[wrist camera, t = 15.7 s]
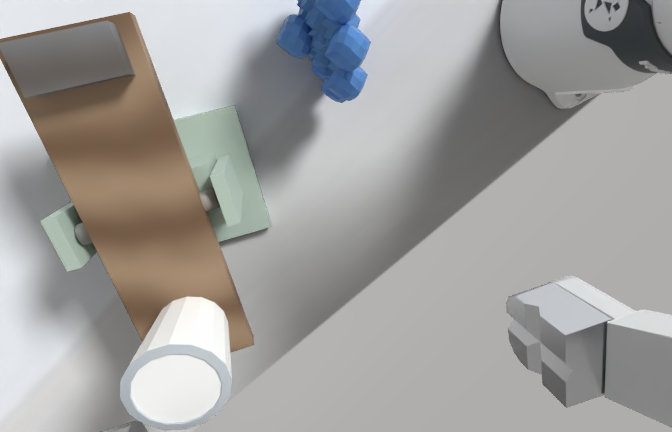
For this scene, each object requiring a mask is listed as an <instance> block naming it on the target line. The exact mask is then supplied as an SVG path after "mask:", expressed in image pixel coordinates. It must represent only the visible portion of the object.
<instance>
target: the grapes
mask: <svg viewBox="0 0 672 432" xmlns="http://www.w3.org/2000/svg"><path fill="white" fill-rule="evenodd" d="M298 1H299V2H298V4H297V5H298V6H299V7H300V10H299V13H298V15H296V14H293V15H290V16H289V17H288V18H287V19H286V20H285V21H284V23H283V26H282V28H281V30H280V33H279V36H278V39H277V44H278V45H279V46H280V47H281V48H282V49H284V50H285V51H286V52H288V53H289V54H290V55H292V56H294V57H296V58H300V59H301V58H304V57H306V56H307V55H308V56H309V57H310V58H311V59H312V61H311V63H312V64H313V66H312V69H311V70H312V71H313V72H314V73H315V74H316V75H317V76H318V77H320V78H321V79H322V80H324V82H323V85H322V88H321V91H322V92H323V93H325V94H326V95H327V96H328V97H330V98H331V99H332V100H334V101H336V102H340V103H342V102H344V101H346V100H348V101H350V100H352V99H354V98H356V97H357V96H358V95H359V93H360V92H361V90H362V88H363V86H364V83H365V80H366V78H367V75H368V74H367V73H366V72H365V71H364V70H363V69H362V68H360V65H361V64H362V62H363V60H364V59H365V56H366V54H367V51H368V48H369V45H370V43H371V42H370V41H369V39H368V38H367V37H366V36H365V35H364V34H363V33H362V32H361V31H360V30H359V29H357V28H358V25H359V22H360V18H359V17H358V16H357V15H356V11H357V9H358V6H359V4H360V1H361V0H298Z"/></svg>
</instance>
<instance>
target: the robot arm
mask: <svg viewBox="0 0 672 432" xmlns="http://www.w3.org/2000/svg"><path fill="white" fill-rule="evenodd" d="M500 31H501V39H502V44H503V48H504V51H505V54H506V56H507V59H508V61H509V62H510V64H511V66H512V67H513V69H514V70H515V71H516V73H517V74H518V75H519V76H520V77H521V78H522V79H524V80H525V81H526V82H528V83H530V84H531V85H533V86H535V87H538V88H540V89H541V90H543V91H544V92H545V93H546V94H547V96H548V97H549V99H550V100H551V101H552V103H553V104H554V105H555V106H556V107H557V108H559V109H569V108H573V107H575V106H577V105H579V104H581V103H583V102H585V101H587V100H589V99H591V98H593V97H595V96H597V95H599V94H601V93H606V92H607V93H608V92H624V91H629V90H631V89H632V87H633V86H634V85H636V84H639V83H641V82H643V81H645V80H647V79H648V78H650V77H652V76H653V75H655V74H656V73H665V74H672V0H503V1H502V7H501V15H500ZM575 94H576V95H575ZM506 309H507V313H508V314H509V315H510V316H511V317H513V320H512V322H511V324H510V326H509V328H508V333H509V341H510V343H511V346H512V348H513V351H514V353H515V354H516V356H517V357H518V359H519V360H520V361H521V363H522V364H523V365H524V366H525V367H526V368H527V369H528V370H531V371H534V372H537V373H539V374H542V383H543V385H544V386H545V387H546V388H547V389H548V390H549V391H550V392H551V393H552V394H553V395H554V396H555V397H556V398H557V399H558V400H559V401H560V402H561V403H562V404H563V405H564V406H565V407H566V408H567V407H570V406H573V405H576V404H579V403H582V402H585V401H588V400H591V399H594V398H597V397H600V396H602V395H605V398H608V399H610V400H612V401H614V402H616V403H619V404H621V405H623V406H626V407H627V408H630V409H632V410H634V411H636V412H639V413H641V414H643V415H645V416H647V417H650V418H652V419H654V420H656V421H659V422H660V423H663V424H665V425H667V426H669V427H672V315H669V314H664V313H659V312H654V311H649V310H644V309H643V310H640V311H637V312H636V311H635V310H633V309H631V308H629V307H627V306H626V305H624V304H622V303H621V302H619V301H617V300H615V299H614V298H612V297H610V296H608V295H606V294H605V293H603V292H601V291H600V290H598V289H596V288H594V287H593V286H591V285H589V284H587V283H585V282H584V281H582V280H580V279H578V278H577V277H574V276H565V277H562V278H559V279H557V280H554V281H551V282H549V283H548V284H545V285H541V286H539V287H536V288H533V289H530V290H527V291H524V292H521V293H518V294H515V295H512V296H509V297H508V299H507V302H506ZM101 432H147V430H146V428H145V427H144V425H143V423H142V422H139V421H133V422H130V423H127V424H124V425H120V426H117V427H114V428H111V429H107V430H104V431H101Z"/></svg>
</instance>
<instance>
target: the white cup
mask: <svg viewBox="0 0 672 432" xmlns="http://www.w3.org/2000/svg"><path fill="white" fill-rule="evenodd" d="M231 385H232V371H231V357H230V342H229V328H228V321H227V318H226V315H225V313H224V311H223V310H222V309H221V308H220V307H219V306H218V305H217V304H216V303H215V302H212V301H210V300H207V299H205V298H202V297H184V298H181V299H177V300H174V301H172V302H171V303H169V304H168V305H167V306H166V307H164V308H163V309H162V310H161V312H160V313H159V315H158V317H157V319H156V320H155V322H154V324H153V325H152V327H151V329H150V330H149V332H148V334H147V335H146V337H145V339H144V340H143V342H142V344H141V346H140V347H139V349H138V351H137V352H136V354H135V356H134V357H133V359H132V361H131V362H130V364H129V366H128V368H127V369H126V371H125V373H124V375H123V377H122V378H121V380H120V399H121V401H122V403H123V405H124V406H125V408H126V410H127V412H128V413H129V414H130V415H131V416H133V417H134V418H135V419H137V420H138V421H140V422H142V423H143V424H144V425H147V426H151V427H154V428H158V429H162V430H181V429H188V428H191V427H194V426H197V425H200V424H203V423H206V422H207V421H208V420H209V419H211V418H212V417H214V416H215V415H216V414H218V413H219V412H220V411H221V410H222V408H223V407H224V405H225V404H226V402H227V401H228V399H229V397H230V395H231Z"/></svg>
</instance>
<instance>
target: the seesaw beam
mask: <svg viewBox="0 0 672 432" xmlns="http://www.w3.org/2000/svg"><path fill="white" fill-rule="evenodd" d="M0 59H1V61H2V63H3V65H4V67H5V69H6V71H7V73H8V75H9V77H10V79H11V81H12V83H13V85H14V87H15V89H16V91H17V93H18V95H19V97H20V99H21V101H22V103H23V105H24V107H25V109H26V111H27V113H28V115H29V117H30V119H31V121H32V123H33V125H34V127H35V129H36V131H37V133H38V134H39V136H40V138H41V140H42V142H43V144H44V146H45V148H46V150H47V152H48V154H49V156H50V158H51V160H52V162H53V164H54V166H55V168H56V170H57V172H58V174H59V176H60V178H61V180H62V182H63V184H64V186H65V188H66V190H67V192H68V194H69V196H70V198H71V200H72V202H73V204H74V206H75V208H76V210H77V212H78V214H79V216H80V218H81V220H82V222H83V223H80V224H77V225H76V228H75V232H76V236H77V238H78V240H79V241H80V243H82V244H83V245H86V244H90V243H93V244H94V246H95V248H96V250H97V252H98V254H99V256H100V258H101V260H102V262H103V264H104V266H105V268H106V270H107V272H108V274H109V276H110V278H111V280H112V282H113V284H114V286H115V288H116V290H117V292H118V294H119V296H120V298H121V300H122V302H123V304H124V306H125V308H126V310H127V312H128V314H129V316H130V318H131V320H132V322H133V324H134V326H135V328H136V330H137V332H138V334H139V336H140V338H141V340H142V342H143V340H144V339H145V337H146V335H147V334H148V332H149V330H150V329H151V327H152V325H153V324H154V322H155V320H156V319H157V317H158V315H159V313H160V312H161V310H162V309H163V308H164V307H166V306H167V305H168V304H169V303H171V302H172V301H174V300H177V299H181V298H184V297H202V298H205V299H207V300H210V301H212V302H215V303H216V304H217V305H218V306H219V307H220V308H221V309H222V310H223V311H224V313H225V315H226V318H227V321H228V328H229V342H230V352H234V351H237V350H240V349H243V348H246V347H249V346H252V345H254V341H253V334H252V331H251V329H250V326H249V323H248V320H247V318H246V315H245V312H244V310H243V307H242V304H241V302H240V299H239V296H238V293H237V291H236V288H235V285H234V283H233V280H232V277H231V274H230V272H229V269H228V266H227V264H226V261H225V258H224V256H223V253H222V250H221V247H220V245H219V242H218V239H217V237H216V234H215V231H214V228H213V226H212V223H211V220H210V218H209V215H208V212H207V211H210V210H213V209H217V208H220V204H219V201H218V199H217V196H216V193H215V190H214V188H211V189H207V190H203V191H199V188H198V185H197V182H196V180H195V177H194V174H193V172H192V169H191V166H190V164H189V161H188V158H187V155H186V153H185V150H184V147H183V145H182V142H181V139H180V136H179V134H178V131H177V128H176V126H175V123H174V120H173V118H172V115H171V112H170V109H169V107H168V104H167V101H166V99H165V96H164V93H163V90H162V88H161V85H160V82H159V80H158V77H157V74H156V72H155V69H154V66H153V63H152V61H151V58H150V55H149V53H148V50H147V47H146V44H145V42H144V39H143V36H142V34H141V31H140V28H139V26H138V23H137V20H136V17H135V15H133V14H132V13H130V12H128V13H123V14H118V15H113V16H108V17H104V18H99V19H94V20H89V21H84V22H80V23H75V24H70V25H65V26H60V27H56V28H51V29H46V30H41V31H36V32H32V33H27V34H22V35H17V36H12V37H7V38H3V39H0Z"/></svg>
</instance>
